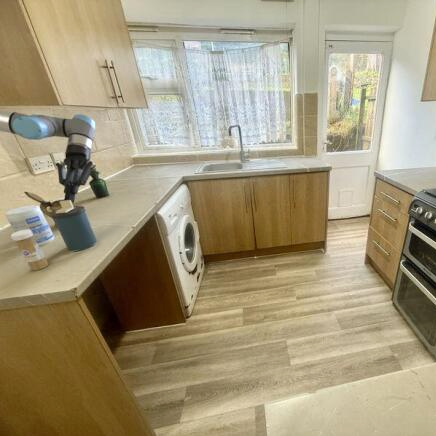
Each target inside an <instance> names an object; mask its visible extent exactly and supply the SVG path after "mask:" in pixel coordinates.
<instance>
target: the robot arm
mask: <svg viewBox="0 0 436 436" xmlns="http://www.w3.org/2000/svg"><path fill="white" fill-rule="evenodd" d="M0 132H3V133H9V134H13V135H17V136H20V137H21V138H24V139H26V140H34V141H37V140H38V141H39V140H43V139H47V138H52V137H58V138H67V143H66V149H65V152H64V154H65V157H64V159H63V161H62V162H60V163H59V162H56V163H55V166H56V168H57V173H58V183H59V184H60V185H62V186H63V193H64V198H63V199H64V200H65V201H66V200H71V202H72V204H74V203H75V199H76V195H78V193H79V190H80V189H79V188H80V187H81V186H85V185H87V182H88V180H89V178H90V177H91V176H90V174H91V171H92V169H93V168H96V164H95V163H94V162H93V161H91V156H92V155H91V154H92V150H93V149H92V148H93V142H94V137H95V133H96V122H95V121H94V119H93V118H91V117H90V116H88V115H86V114H82V113H80V114H74V115H73V116H72V118H65V117H58V116H57V117H56V116H51V115H45V114H35V113H34V114H33V113H32V114H31V115H29V114H25V113H20V112H17V111H11V110H9V109H3V108H0Z"/></svg>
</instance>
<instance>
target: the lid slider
mask: <svg viewBox="0 0 436 436" xmlns="http://www.w3.org/2000/svg"><path fill="white" fill-rule="evenodd" d="M60 204H61V206H62V208H61V209H60V210H58V211H56V214H57V213H67V212H69V211H70V210H72V209H74V207H73V206H74V205H73V204H74V203H72V202H71V200H66V201H60Z"/></svg>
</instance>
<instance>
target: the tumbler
mask: <svg viewBox="0 0 436 436" xmlns="http://www.w3.org/2000/svg"><path fill="white" fill-rule="evenodd" d="M73 207H74V209H72V210H70V211H69V212H67V213H57V214H56V211H58V210H56V211H54V212H52V211H51V212H52V213H51V216H52V218H54V220H55V222H56V225H57V226H56V227H57V229H58V231H59V233H60V235H61V238H62V240H63V243H64V245H65V246H66V248H67V250H68V251H73V253H79V252H83V251H85V250H88V249H90V248H93V247H94V246H95V245H96V243H97V238H96V235H95V233H94V231H93V228H92V226H91V223H90V221H89V217H88V216H87V213H86V208H85V206H83V205H73ZM59 210H60V209H59ZM52 218H51V219H52ZM54 220H53V221H54ZM55 222H54V223H55Z"/></svg>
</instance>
